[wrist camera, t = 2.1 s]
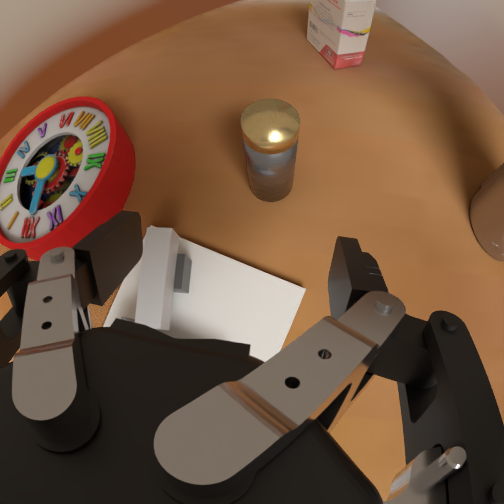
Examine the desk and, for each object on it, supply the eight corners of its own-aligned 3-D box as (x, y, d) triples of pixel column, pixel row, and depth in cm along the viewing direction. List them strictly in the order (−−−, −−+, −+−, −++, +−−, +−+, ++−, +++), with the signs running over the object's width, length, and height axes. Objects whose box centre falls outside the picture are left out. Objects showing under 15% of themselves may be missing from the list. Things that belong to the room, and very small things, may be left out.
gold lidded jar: (259, 159, 32) (254, 93, 22) (298, 172, 31) (307, 108, 22) (242, 192, 31) (230, 132, 21) (283, 208, 30) (288, 149, 21)
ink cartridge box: (363, 65, 36) (383, -18, 22) (334, 70, 36) (348, -19, 21) (332, 34, 38) (342, -42, 24) (304, 38, 38) (309, -42, 24)
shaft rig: (154, 228, 30) (132, 205, 25) (304, 290, 28) (312, 278, 22) (65, 446, 24) (36, 458, 19) (193, 522, 22) (179, 550, 16)
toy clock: (136, 83, 30) (90, 251, 24) (151, 113, 35) (119, 267, 30) (19, 114, 31) (-28, 248, 25) (39, 135, 37) (1, 261, 31)
